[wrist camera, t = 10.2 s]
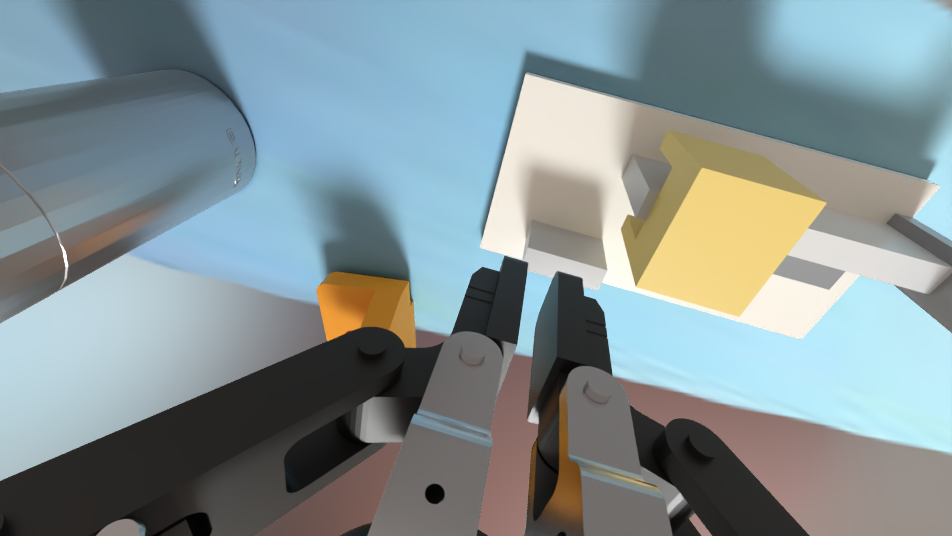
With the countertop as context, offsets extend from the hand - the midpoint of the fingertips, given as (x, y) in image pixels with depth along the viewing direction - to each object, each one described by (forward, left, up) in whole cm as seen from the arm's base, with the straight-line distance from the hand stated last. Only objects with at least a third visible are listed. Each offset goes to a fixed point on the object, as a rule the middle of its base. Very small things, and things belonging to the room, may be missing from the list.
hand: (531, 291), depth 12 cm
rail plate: (+10, -2, -17) cm, 20 cm away
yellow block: (+8, 0, -13) cm, 15 cm away
